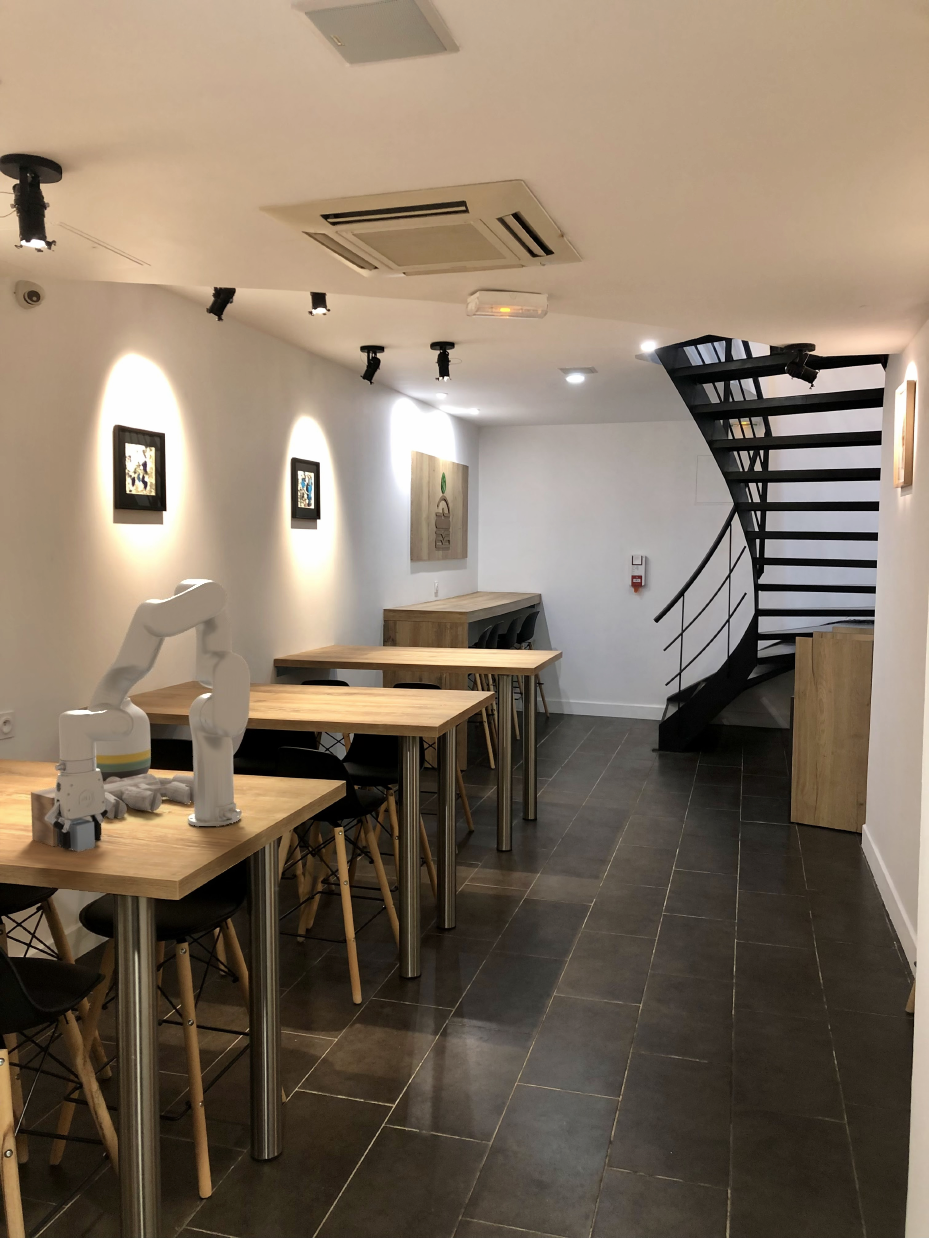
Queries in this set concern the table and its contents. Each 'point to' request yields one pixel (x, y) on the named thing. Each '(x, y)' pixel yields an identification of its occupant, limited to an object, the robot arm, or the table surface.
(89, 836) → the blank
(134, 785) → the white branched piece
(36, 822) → the open wooden box
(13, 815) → the table surface
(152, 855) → the table surface
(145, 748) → the vase
